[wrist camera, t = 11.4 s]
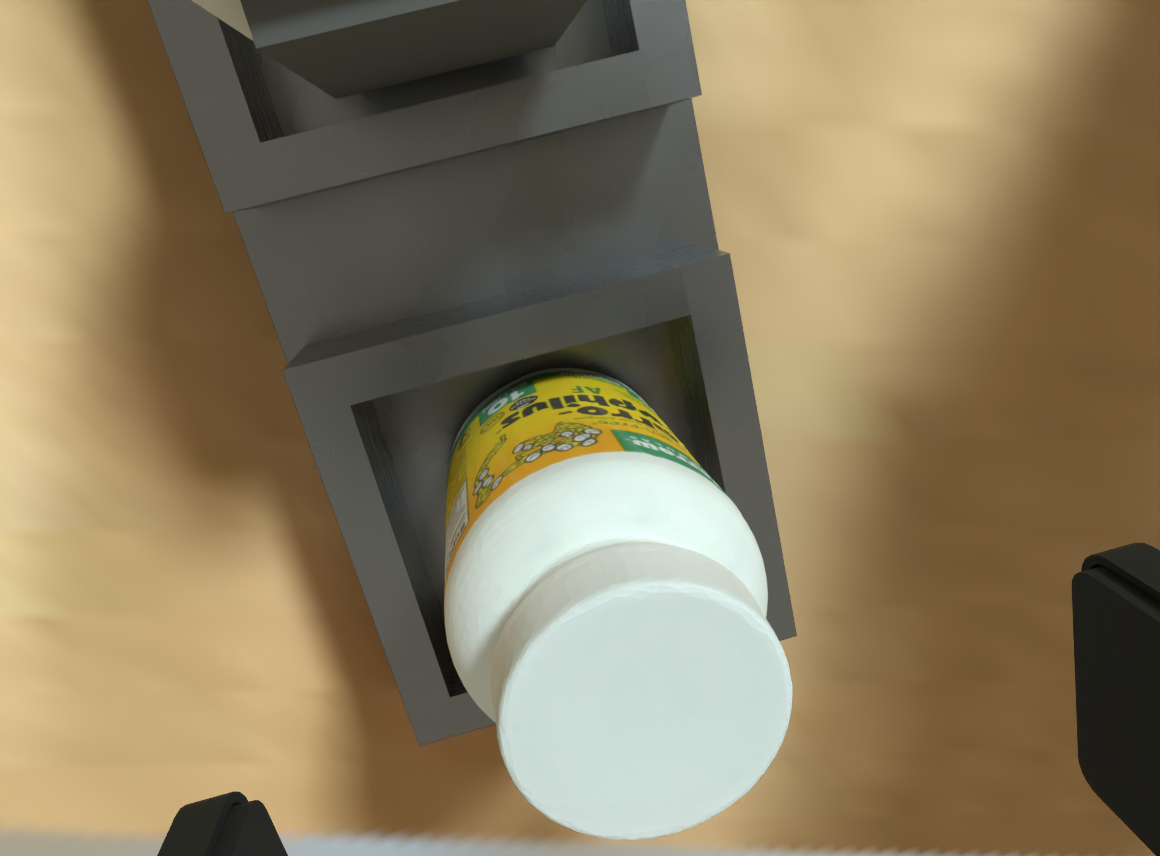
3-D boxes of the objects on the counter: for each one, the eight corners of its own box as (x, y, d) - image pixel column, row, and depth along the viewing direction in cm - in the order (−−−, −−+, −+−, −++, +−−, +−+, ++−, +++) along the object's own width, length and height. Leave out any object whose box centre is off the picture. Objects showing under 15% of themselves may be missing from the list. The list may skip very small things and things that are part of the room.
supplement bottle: (437, 564, 20) (417, 885, 11) (459, 349, 19) (458, 514, 10) (650, 578, 21) (795, 885, 12) (687, 374, 20) (883, 547, 10)
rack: (61, -324, 15) (-68, -486, 12) (574, -430, 16) (610, -618, 12) (419, 685, 23) (410, 787, 19) (763, 586, 23) (822, 665, 19)
